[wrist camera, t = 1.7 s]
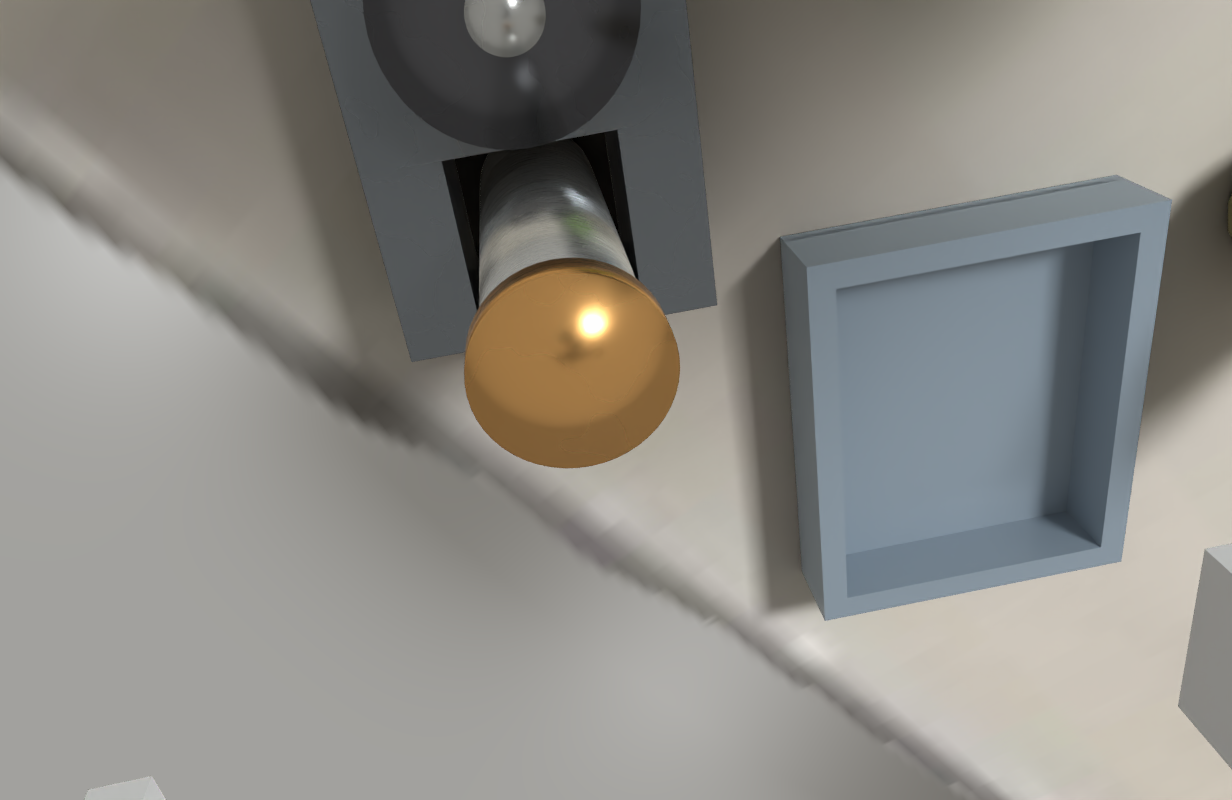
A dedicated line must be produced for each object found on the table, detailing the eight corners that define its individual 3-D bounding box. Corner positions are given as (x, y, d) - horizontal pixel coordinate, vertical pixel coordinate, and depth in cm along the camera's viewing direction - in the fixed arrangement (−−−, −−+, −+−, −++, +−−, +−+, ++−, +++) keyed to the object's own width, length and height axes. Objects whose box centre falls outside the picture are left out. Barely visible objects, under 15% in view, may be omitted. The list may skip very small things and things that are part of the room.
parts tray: (780, 237, 36) (806, 267, 33) (1116, 174, 36) (1172, 199, 33) (801, 571, 43) (825, 620, 40) (1078, 517, 44) (1121, 561, 41)
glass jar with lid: (457, 131, 32) (441, 297, 19) (591, 107, 32) (666, 255, 19) (486, 258, 35) (489, 485, 21) (611, 236, 35) (690, 446, 22)
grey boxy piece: (305, -131, 28) (249, -137, 21) (637, -186, 29) (686, -209, 22) (420, 302, 35) (405, 403, 28) (687, 253, 35) (737, 340, 29)
